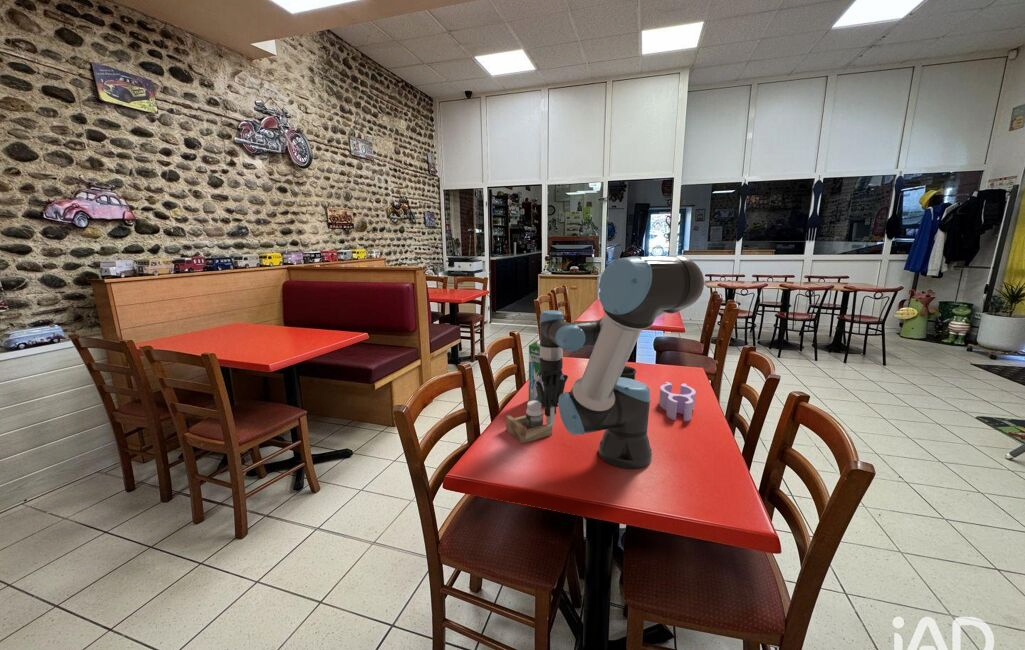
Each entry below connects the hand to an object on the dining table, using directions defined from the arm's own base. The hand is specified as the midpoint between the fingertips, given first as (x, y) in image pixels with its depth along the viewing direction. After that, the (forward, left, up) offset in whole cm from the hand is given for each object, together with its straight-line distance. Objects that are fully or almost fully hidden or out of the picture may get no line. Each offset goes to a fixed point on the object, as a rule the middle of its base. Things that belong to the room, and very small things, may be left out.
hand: (550, 423), depth 137 cm
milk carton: (+19, -10, -1) cm, 22 cm away
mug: (+8, -37, -1) cm, 38 cm away
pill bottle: (0, +6, -1) cm, 6 cm away
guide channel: (0, +8, -1) cm, 8 cm away
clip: (-11, -50, -2) cm, 51 cm away
